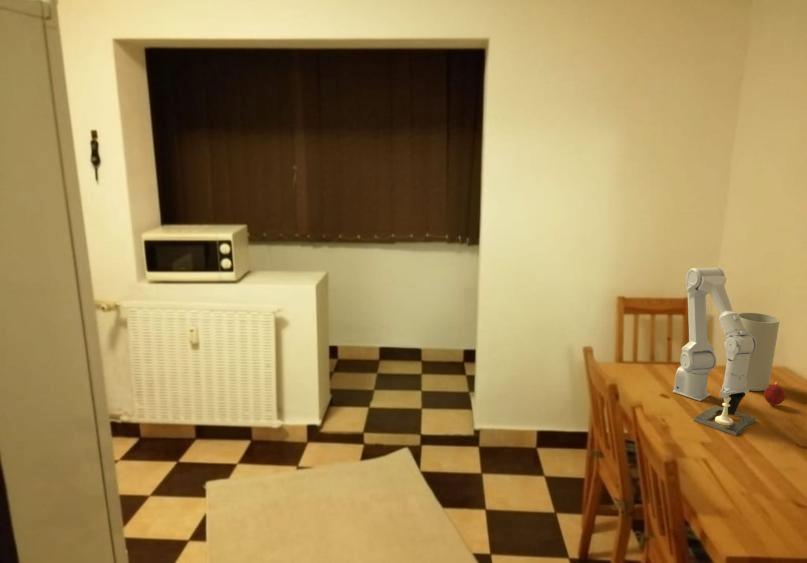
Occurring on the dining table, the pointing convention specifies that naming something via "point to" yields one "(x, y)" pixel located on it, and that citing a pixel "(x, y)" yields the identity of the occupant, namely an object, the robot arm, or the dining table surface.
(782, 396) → the onion
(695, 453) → the dining table surface
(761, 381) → the cylinder vase
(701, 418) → the keyhole plate
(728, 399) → the chess piece
